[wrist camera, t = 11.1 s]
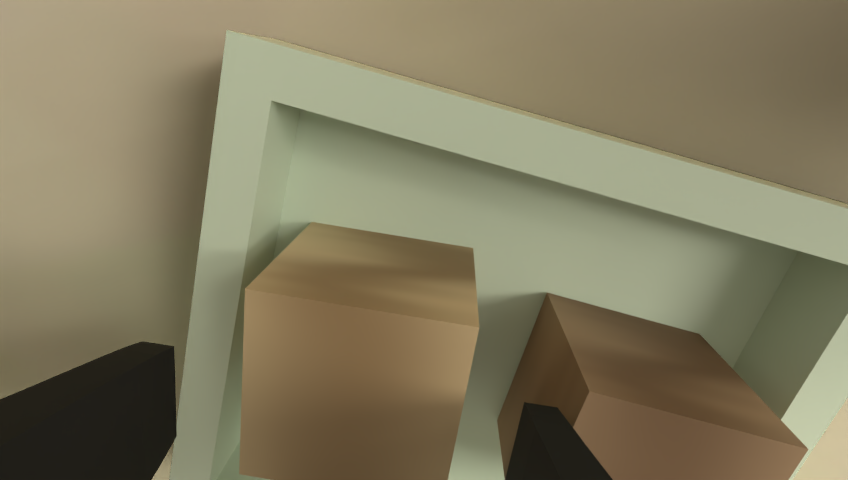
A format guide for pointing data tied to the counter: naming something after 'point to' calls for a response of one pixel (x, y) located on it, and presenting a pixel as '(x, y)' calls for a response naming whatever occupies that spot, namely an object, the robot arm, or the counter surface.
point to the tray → (503, 238)
